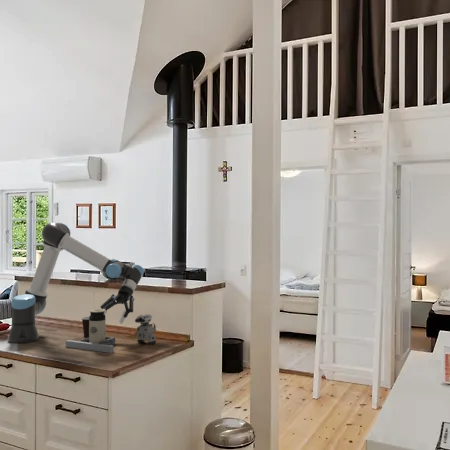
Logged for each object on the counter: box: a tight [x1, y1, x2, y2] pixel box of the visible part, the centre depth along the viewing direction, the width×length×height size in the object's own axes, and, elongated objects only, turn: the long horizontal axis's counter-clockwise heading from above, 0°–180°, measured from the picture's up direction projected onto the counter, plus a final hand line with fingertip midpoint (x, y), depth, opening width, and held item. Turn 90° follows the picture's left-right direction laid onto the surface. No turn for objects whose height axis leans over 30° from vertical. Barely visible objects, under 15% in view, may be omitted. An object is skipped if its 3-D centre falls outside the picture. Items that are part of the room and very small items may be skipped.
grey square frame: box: [80, 335, 116, 346], centre depth 252 cm, size 12×12×4 cm
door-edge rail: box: [65, 339, 114, 354], centre depth 245 cm, size 28×2×3 cm, turn 65°
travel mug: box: [88, 308, 106, 344], centre depth 253 cm, size 8×8×18 cm
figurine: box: [134, 314, 157, 346], centre depth 257 cm, size 9×12×15 cm
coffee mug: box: [81, 316, 90, 338], centre depth 276 cm, size 12×9×10 cm
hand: (109, 321), depth 261 cm, fingers open, 13 cm apart
